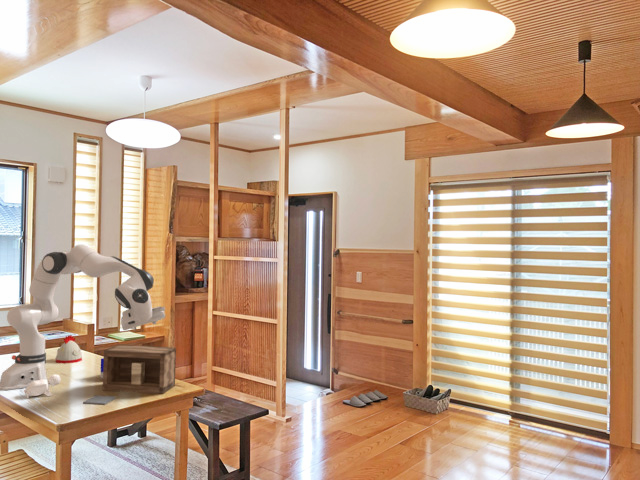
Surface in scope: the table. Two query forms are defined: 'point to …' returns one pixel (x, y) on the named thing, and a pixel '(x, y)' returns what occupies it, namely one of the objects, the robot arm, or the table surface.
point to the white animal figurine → (42, 386)
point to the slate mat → (99, 400)
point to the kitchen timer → (69, 351)
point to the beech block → (138, 372)
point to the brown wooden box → (156, 368)
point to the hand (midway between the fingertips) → (144, 325)
